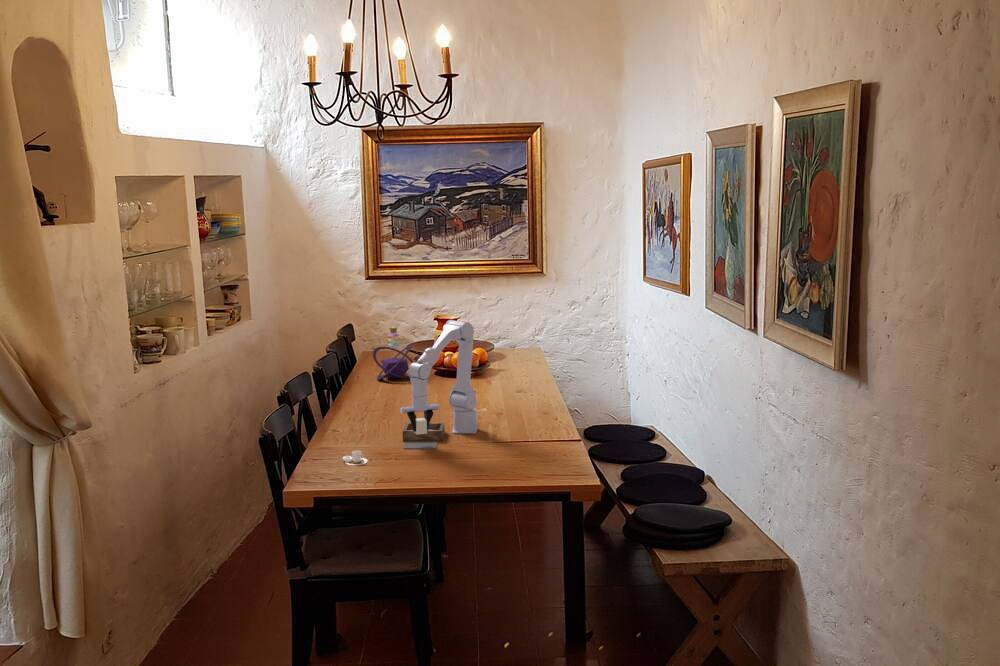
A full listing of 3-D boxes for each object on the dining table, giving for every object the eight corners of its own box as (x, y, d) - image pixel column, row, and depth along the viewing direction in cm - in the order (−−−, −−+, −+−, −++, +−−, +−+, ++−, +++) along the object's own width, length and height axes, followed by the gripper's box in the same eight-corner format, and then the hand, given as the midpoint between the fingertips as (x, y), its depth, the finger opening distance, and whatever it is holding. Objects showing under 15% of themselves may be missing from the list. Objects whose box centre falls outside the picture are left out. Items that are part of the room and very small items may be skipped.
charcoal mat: (437, 442, 344) (437, 441, 344) (435, 449, 337) (435, 448, 337) (406, 442, 345) (406, 441, 345) (403, 449, 337) (403, 448, 337)
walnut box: (444, 432, 357) (444, 422, 356) (442, 441, 346) (442, 430, 345) (406, 432, 357) (406, 422, 356) (402, 441, 346) (402, 431, 346)
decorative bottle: (372, 373, 456) (370, 324, 451) (414, 371, 460) (413, 322, 455) (374, 384, 434) (372, 332, 429) (418, 381, 438) (417, 330, 433)
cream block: (424, 430, 342) (423, 417, 342) (427, 433, 339) (426, 420, 338) (413, 431, 341) (413, 418, 340) (416, 434, 337) (416, 421, 336)
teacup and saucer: (339, 462, 324) (338, 451, 323) (357, 457, 330) (357, 446, 329) (353, 468, 318) (353, 456, 317) (372, 462, 323) (371, 451, 323)
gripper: (435, 390, 343) (436, 425, 346) (397, 394, 338) (398, 429, 341) (440, 394, 337) (441, 430, 339) (402, 398, 332) (403, 434, 334)
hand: (420, 430), depth 340 cm, fingers closed on cream block, 4 cm apart
